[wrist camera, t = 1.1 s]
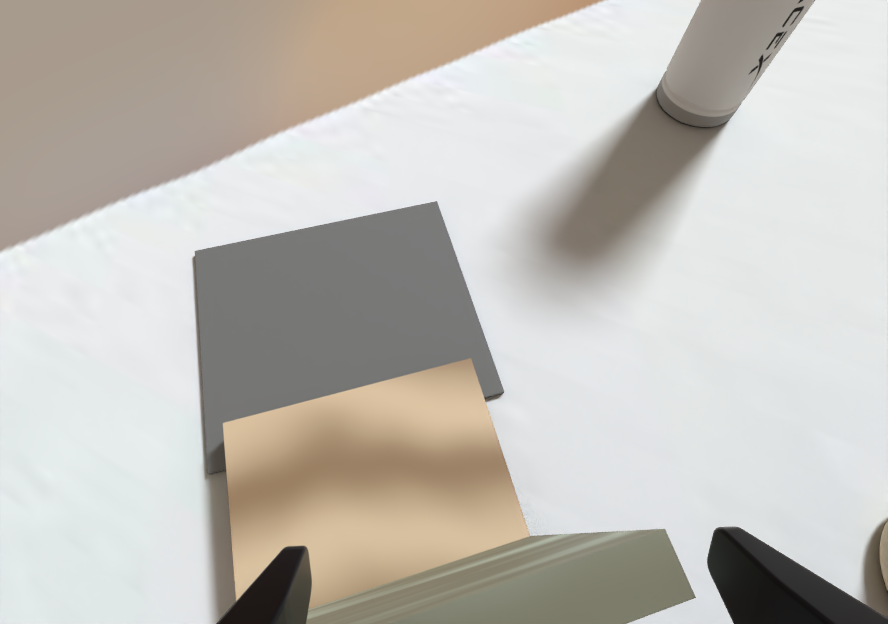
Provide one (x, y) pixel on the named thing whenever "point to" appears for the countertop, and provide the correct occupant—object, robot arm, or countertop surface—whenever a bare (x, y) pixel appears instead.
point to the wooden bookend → (423, 516)
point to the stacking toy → (884, 554)
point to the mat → (331, 314)
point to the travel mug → (725, 57)
